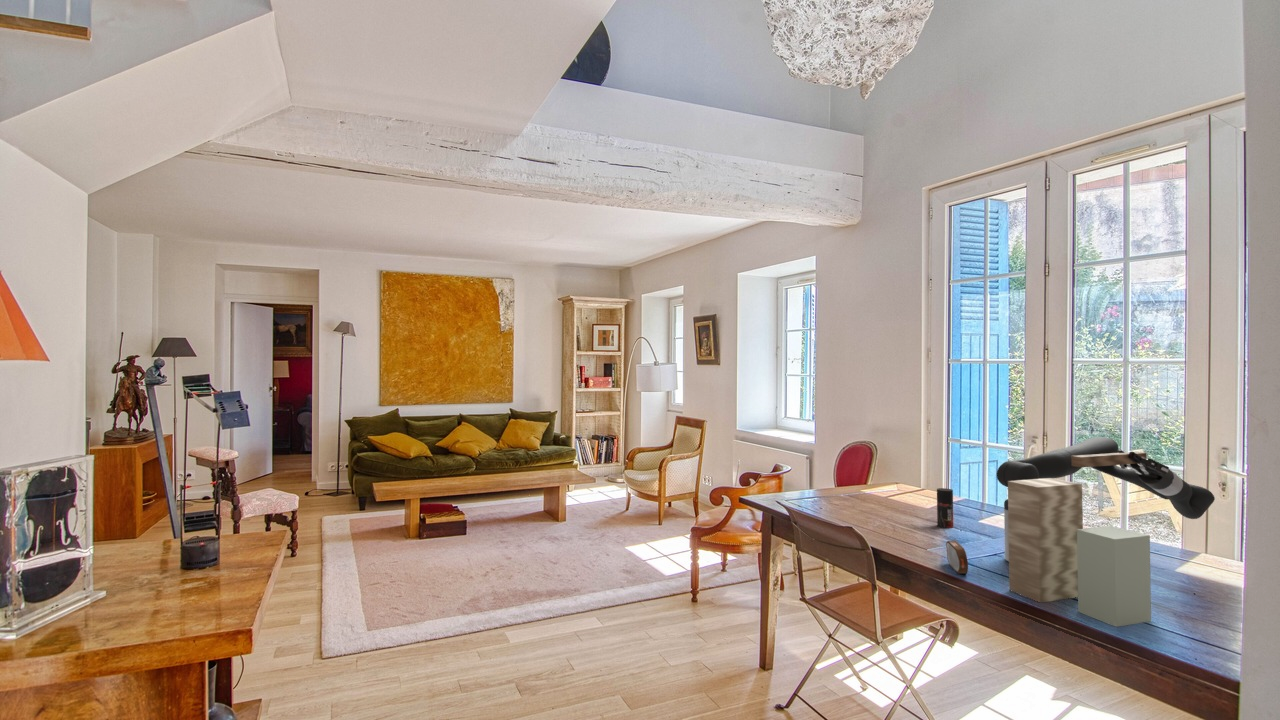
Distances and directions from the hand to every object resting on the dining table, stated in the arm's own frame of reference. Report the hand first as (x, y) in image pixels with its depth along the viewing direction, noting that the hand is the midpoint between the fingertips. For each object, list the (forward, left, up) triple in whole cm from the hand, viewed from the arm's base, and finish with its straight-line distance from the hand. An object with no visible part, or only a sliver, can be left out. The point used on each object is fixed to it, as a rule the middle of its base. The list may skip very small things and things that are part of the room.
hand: (1124, 453), depth 188 cm
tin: (+40, -25, -39) cm, 61 cm away
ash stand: (+31, 0, -39) cm, 50 cm away
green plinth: (+29, +18, -39) cm, 52 cm away
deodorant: (+3, -70, -39) cm, 80 cm away
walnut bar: (+6, 0, -3) cm, 7 cm away
